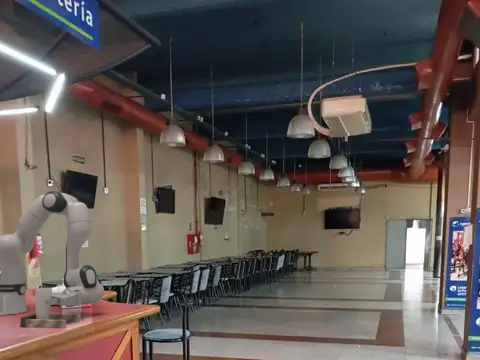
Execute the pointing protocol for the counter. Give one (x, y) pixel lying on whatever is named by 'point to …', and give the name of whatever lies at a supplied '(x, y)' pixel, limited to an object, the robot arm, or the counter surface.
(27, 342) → the counter surface
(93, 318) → the counter surface
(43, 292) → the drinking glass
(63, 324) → the brown compartment tray
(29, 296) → the counter surface
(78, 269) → the robot arm
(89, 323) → the counter surface
